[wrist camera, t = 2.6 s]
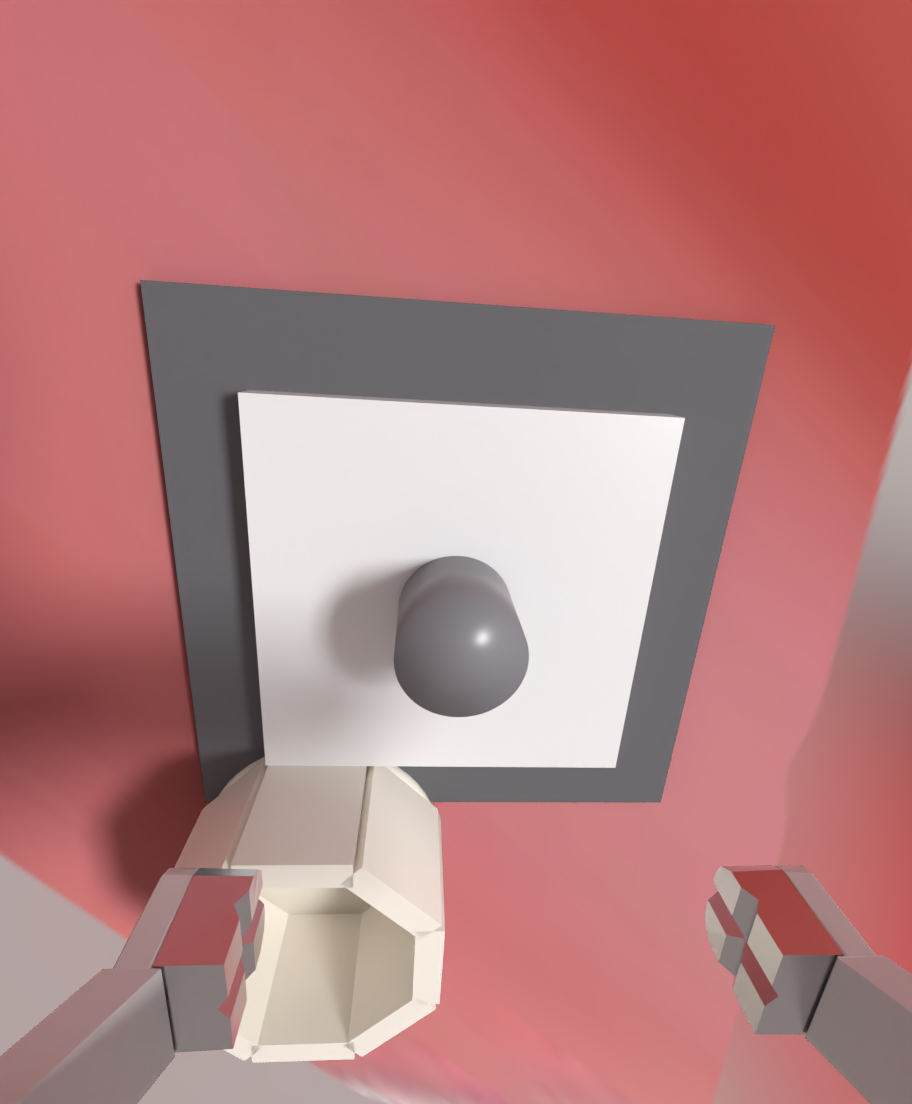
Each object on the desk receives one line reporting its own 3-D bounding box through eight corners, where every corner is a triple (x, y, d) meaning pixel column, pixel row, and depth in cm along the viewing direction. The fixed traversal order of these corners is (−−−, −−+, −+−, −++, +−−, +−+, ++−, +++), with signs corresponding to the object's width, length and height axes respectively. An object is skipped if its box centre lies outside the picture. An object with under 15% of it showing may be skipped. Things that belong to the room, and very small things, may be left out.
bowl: (202, 737, 22) (127, 865, 17) (443, 739, 23) (449, 864, 17) (222, 910, 26) (167, 1065, 20) (432, 907, 26) (435, 1056, 21)
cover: (249, 390, 17) (191, 401, 13) (669, 414, 18) (746, 432, 14) (273, 744, 22) (236, 841, 18) (606, 747, 23) (648, 839, 19)
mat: (146, 281, 17) (140, 279, 16) (768, 326, 18) (775, 325, 18) (208, 794, 23) (205, 801, 23) (656, 795, 25) (660, 802, 24)
